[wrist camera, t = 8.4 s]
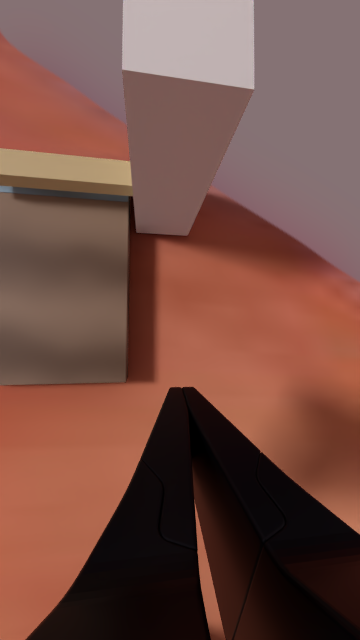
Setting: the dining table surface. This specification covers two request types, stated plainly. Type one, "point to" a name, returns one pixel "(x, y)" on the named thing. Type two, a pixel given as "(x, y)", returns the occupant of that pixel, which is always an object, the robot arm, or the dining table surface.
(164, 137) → the white box
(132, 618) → the robot arm
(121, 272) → the plank
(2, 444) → the dining table surface
